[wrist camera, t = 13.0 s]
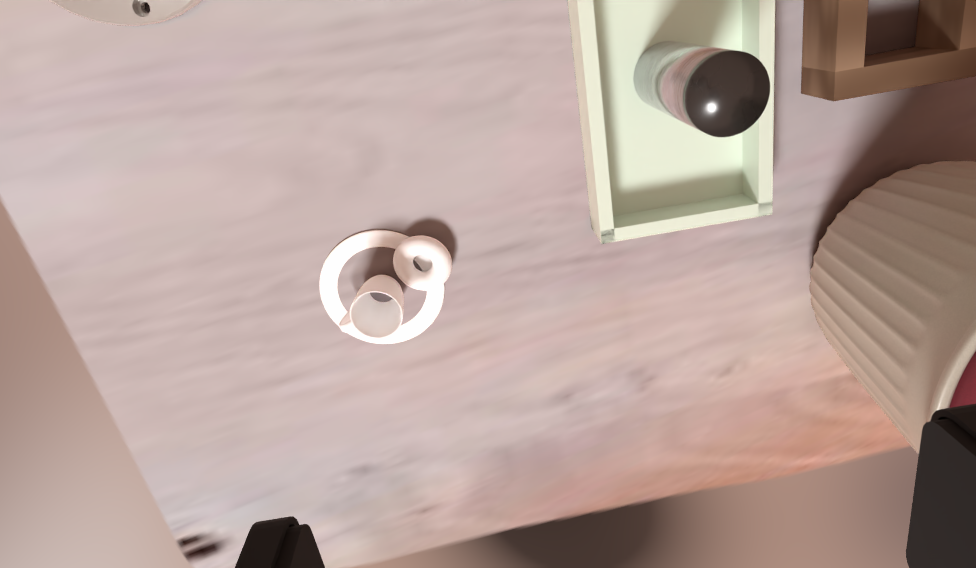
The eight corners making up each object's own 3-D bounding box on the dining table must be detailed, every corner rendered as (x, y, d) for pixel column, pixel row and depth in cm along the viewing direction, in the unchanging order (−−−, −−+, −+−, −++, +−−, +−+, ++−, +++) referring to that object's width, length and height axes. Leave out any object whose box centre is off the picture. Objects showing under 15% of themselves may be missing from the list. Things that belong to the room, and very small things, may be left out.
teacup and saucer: (445, 216, 40) (443, 237, 36) (465, 328, 43) (467, 358, 39) (306, 238, 40) (291, 262, 36) (337, 348, 43) (326, 381, 39)
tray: (559, -79, 33) (568, -87, 30) (749, -114, 33) (776, -126, 30) (591, 227, 40) (601, 243, 37) (750, 200, 40) (772, 214, 37)
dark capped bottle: (630, 47, 35) (685, 58, 27) (695, 35, 35) (770, 43, 27) (635, 113, 36) (688, 143, 28) (698, 102, 36) (769, 129, 28)
